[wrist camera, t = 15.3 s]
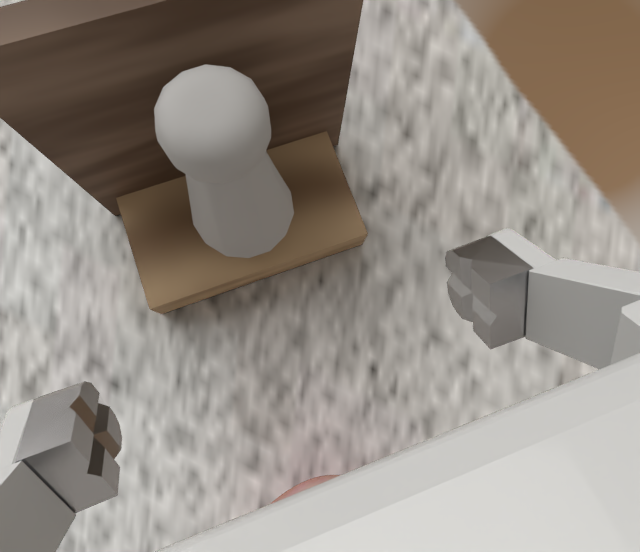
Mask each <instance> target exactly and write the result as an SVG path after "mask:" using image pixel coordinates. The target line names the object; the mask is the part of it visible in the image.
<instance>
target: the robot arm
mask: <svg viewBox="0 0 640 552" xmlns="http://www.w3.org/2000/svg"><path fill="white" fill-rule="evenodd" d="M445 261H446V267H447V268H448V269H449V270H450V271H451V272H452V274H451V276H450V278H449V279H448V281H447V287H448V294H449V297H450V300H451V303H452V305H453V307H454V308H455V310H456V312H457V313H458V314H459V315H460V316H461V318H462V319H464V320H468V321H471V322H473V331H474V332H475V333H476V334H477V335H478V336H479V337H480V339H481V340H482V341H483V342H484V343H485V344H486V345H487V346H488V347H489V348H490V349H493V348H495V347H498V346H501V345H504V344H506V343H509V342H512V341H515V340H517V339H520V338H523V337H525V338H526V339H528V340H530V341H533V342H535V343H538V344H540V345H542V346H545V347H547V348H550V349H552V350H554V351H557V352H559V353H562V354H564V355H567V356H569V357H571V358H574V359H576V360H579V361H581V362H583V363H586V364H588V365H591V366H593V367H595V368H598V369H599V370H597V371H594V372H592V373H589V374H587V375H584V376H582V377H580V378H577V379H575V380H572V381H570V382H567V383H565V384H563V385H560V386H558V387H555V388H553V389H550V390H548V391H545V392H543V393H541V394H538V395H536V396H533V397H531V398H528V399H526V400H523V401H521V402H519V403H516V404H514V405H511V406H509V407H506V408H504V409H501V410H499V411H497V412H494V413H492V414H489V415H487V416H484V417H482V418H479V419H477V420H475V421H472V422H470V423H467V424H465V425H462V426H460V427H457V428H455V429H453V430H450V431H448V432H445V433H443V434H440V435H438V436H435V437H433V438H431V439H428V440H426V441H423V442H421V443H418V444H416V445H413V446H411V447H409V448H406V449H404V450H401V451H399V452H396V453H394V454H391V455H389V456H387V457H384V458H382V459H379V460H377V461H374V462H372V463H369V464H367V465H365V466H362V467H360V468H357V469H355V470H352V471H350V472H347V473H345V474H343V475H340V476H338V477H335V478H333V479H330V480H328V481H326V482H323V483H321V484H318V485H316V486H313V487H311V488H308V489H306V490H304V491H301V492H299V493H296V494H294V495H291V496H289V497H286V498H284V499H282V500H279V501H277V502H274V503H272V504H269V505H267V506H264V507H262V508H260V509H257V510H255V511H252V512H250V513H247V514H245V515H243V516H240V517H238V518H235V519H233V520H230V521H228V522H225V523H223V524H221V525H218V526H216V527H213V528H211V529H208V530H206V531H203V532H201V533H199V534H196V535H194V536H191V537H189V538H186V539H184V540H181V541H179V542H177V543H174V544H172V545H169V546H167V547H164V548H162V549H159V550H157V551H155V552H640V272H639V271H633V270H628V269H622V268H616V267H611V266H605V265H600V264H594V263H589V262H583V261H578V260H572V259H567V258H561V259H559V260H556V259H555V258H553V257H552V256H550V255H549V254H547V253H546V252H544V251H543V250H542V249H540V248H539V247H537V246H536V245H534V244H533V243H531V242H530V241H529V240H527V239H526V238H524V237H523V236H521V235H520V234H518V233H517V232H516V231H514V230H513V229H509V228H505V229H503V230H500V231H498V232H495V233H493V234H490V235H488V236H486V237H484V238H482V239H479V240H476V241H473V242H471V243H468V244H465V245H462V246H460V247H457V248H454V249H452V250H449V251H447V252H446V256H445ZM98 400H99V392H98V391H97V390H96V388H95V387H94V386H93V385H92V383H90V382H82V383H79V384H76V385H73V386H70V387H67V388H64V389H61V390H58V391H55V392H52V393H49V394H46V395H43V396H40V397H38V398H36V399H32V400H29V401H27V402H24V403H21V404H18V405H15V406H13V407H12V408H10V409H9V410H8V411H7V413H6V416H5V418H4V421H3V424H2V427H1V430H0V552H56V550H57V548H58V546H59V545H60V543H61V541H62V539H63V538H64V536H65V534H66V532H67V531H68V529H69V527H70V525H71V524H72V522H73V520H74V518H75V516H76V514H75V513H77V512H79V511H82V510H84V509H86V508H89V507H91V506H93V505H96V504H98V503H101V502H103V501H105V500H108V499H110V498H112V497H115V496H117V495H118V484H119V472H120V466H119V465H118V464H117V463H116V461H115V460H114V459H115V457H116V456H117V454H118V453H119V452H120V450H121V445H122V435H121V430H120V425H119V422H118V420H117V418H116V416H115V414H114V413H113V411H112V410H111V408H110V407H108V406H106V405H103V404H100V403H98Z"/></svg>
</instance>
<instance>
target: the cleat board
mask: <svg viewBox="0 0 640 552" xmlns="http://www.w3.org/2000/svg"><path fill="white" fill-rule="evenodd" d="M362 4H363V0H25V1H21V2H17V3H14V4H10V5H6V6H2V7H0V118H1V119H2V120H4V121H5V122H6V123H7V124H8V125H9V126H11V127H12V128H13V129H14V130H15V131H17V132H18V133H19V134H20V135H21V136H22V137H24V138H25V139H26V140H27V141H28V142H29V143H31V144H32V145H33V146H34V147H35V148H36V149H38V150H39V151H40V152H41V153H42V154H43V155H45V156H46V157H47V158H48V159H49V160H50V161H52V162H53V163H54V164H55V165H56V166H57V167H59V168H60V169H61V170H62V171H63V172H64V173H66V174H67V175H68V176H69V177H70V178H72V179H73V180H74V181H75V182H76V183H77V184H79V185H80V186H81V187H82V188H83V189H84V190H86V191H87V192H88V193H89V194H90V195H91V196H93V197H94V198H95V199H96V200H97V201H98V202H100V203H101V204H102V205H103V206H104V207H105V208H107V209H108V210H109V211H110V212H111V213H112V214H114V215H115V216H117V215H120V214H121V216H122V219H123V223H124V226H125V229H126V233H127V236H128V239H129V243H130V246H131V249H132V252H133V256H134V259H135V262H136V266H137V269H138V272H139V275H140V279H141V282H142V285H143V289H144V292H145V295H146V299H147V302H148V305H149V308H150V309H151V310H153V311H155V312H158V313H160V314H163V313H166V312H169V311H172V310H175V309H178V308H181V307H184V306H186V305H189V304H192V303H195V302H198V301H201V300H204V299H207V298H209V297H212V296H215V295H218V294H221V293H224V292H227V291H230V290H232V289H235V288H238V287H241V286H244V285H247V284H250V283H252V282H255V281H258V280H261V279H264V278H267V277H270V276H273V275H275V274H278V273H281V272H284V271H287V270H290V269H293V268H296V267H298V266H301V265H304V264H307V263H310V262H313V261H316V260H319V259H321V258H324V257H327V256H330V255H333V254H336V253H339V252H342V251H344V250H347V249H350V248H353V247H356V246H359V245H362V244H363V242H364V240H365V238H366V236H367V234H368V233H367V231H366V228H365V226H364V223H363V221H362V218H361V216H360V213H359V211H358V208H357V206H356V203H355V201H354V198H353V196H352V193H351V191H350V188H349V186H348V183H347V181H346V178H345V176H344V173H343V171H342V168H341V166H340V163H339V161H338V158H337V156H336V153H335V151H334V148H333V146H335V145H338V141H339V135H340V129H341V124H342V118H343V112H344V107H345V101H346V95H347V90H348V84H349V78H350V72H351V67H352V61H353V55H354V50H355V44H356V38H357V33H358V27H359V21H360V16H361V10H362ZM205 64H208V65H216V66H224V67H231V68H233V69H234V70H236V71H238V72H240V73H242V74H243V75H245V76H247V77H249V78H251V79H252V81H253V82H254V84H255V85H256V87H257V88H258V90H259V91H260V93H261V94H262V96H263V97H264V99H265V101H266V103H267V105H268V110H269V117H270V124H271V139H270V142H269V144H268V147H267V149H266V151H267V153H268V155H269V157H270V158H271V160H272V162H273V164H274V166H275V167H276V169H277V171H278V172H279V174H280V175H281V177H282V179H283V180H284V182H285V183H286V185H287V187H288V188H289V190H290V191H291V196H292V202H293V209H294V215H293V218H292V220H291V223H290V226H289V228H288V231H287V233H286V235H285V236H284V237H283V239H282V240H281V241H280V242H279V243H278V244H277V245H276V246H275V247H274V248H273V249H272V250H271V251H269V252H266V253H263V254H260V255H257V256H254V257H251V258H241V257H229V256H225V255H223V254H222V253H220V252H219V251H217V250H215V249H214V248H212V247H211V246H209V245H207V244H206V243H205V242H204V240H203V239H202V237H201V236H200V234H199V233H198V231H197V230H196V228H195V227H194V225H193V219H192V213H191V206H190V200H189V194H188V187H187V181H186V174H185V173H183V172H182V171H180V170H178V169H177V168H176V167H175V166H174V165H173V163H172V162H171V161H170V159H169V158H168V156H167V155H166V153H165V152H164V150H163V149H162V147H161V146H160V144H159V142H158V141H157V136H156V132H155V116H154V107H155V105H156V103H157V100H158V98H159V96H160V93H161V91H162V89H163V87H164V86H165V85H166V84H168V83H169V82H170V81H171V80H172V79H174V78H175V77H176V76H177V75H178V74H180V73H181V72H182V71H185V70H189V69H192V68H195V67H199V66H202V65H205Z"/></svg>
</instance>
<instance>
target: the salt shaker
mask: <svg viewBox="0 0 640 552" xmlns="http://www.w3.org/2000/svg"><path fill="white" fill-rule="evenodd" d="M154 116H155V132H156V136H157V141H158V142H159V144H160V146H161V147H162V149H163V150H164V152H165V153H166V155H167V156H168V158H169V159H170V161H171V162H172V163H173V165H174V166H175V167H176V168H177V169H178V170H180V171H182V172H183V173H185V174H186V181H187V187H188V194H189V200H190V206H191V213H192V219H193V225H194V227H195V228H196V230H197V231H198V233H199V234H200V236H201V237H202V239H203V240H204V242H205V243H206V244H207V245H209V246H211V247H212V248H214V249H215V250H217V251H219V252H220V253H222V254H223V255H225V256H229V257H241V258H251V257H254V256H257V255H260V254H263V253H266V252H269V251H271V250H272V249H273V248H274V247H275V246H276V245H277V244H278V243H279V242H280V241H281V240H282V239H283V237H284V236H285V235H286V233H287V231H288V228H289V226H290V223H291V220H292V218H293V215H294V209H293V202H292V196H291V191H290V190H289V188H288V187H287V185H286V183H285V182H284V180H283V179H282V177H281V175H280V174H279V172H278V171H277V169H276V167H275V166H274V164H273V162H272V160H271V158H270V157H269V155H268V153H267V151H266V149H267V147H268V144H269V142H270V139H271V124H270V117H269V110H268V105H267V103H266V101H265V99H264V97H263V96H262V94H261V93H260V91H259V90H258V88H257V87H256V85H255V84H254V82H253V81H252V79H251V78H249V77H247V76H245V75H243V74H242V73H240V72H238V71H236V70H234V69H233V68H231V67H224V66H216V65H208V64H205V65H202V66H199V67H195V68H192V69H189V70H185V71H182V72H181V73H180V74H178V75H177V76H176V77H175V78H174V79H172V80H171V81H170V82H169V83H168V84H166V85H165V86H164V87H163V89H162V91H161V93H160V96H159V98H158V100H157V103H156V105H155V107H154Z"/></svg>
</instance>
